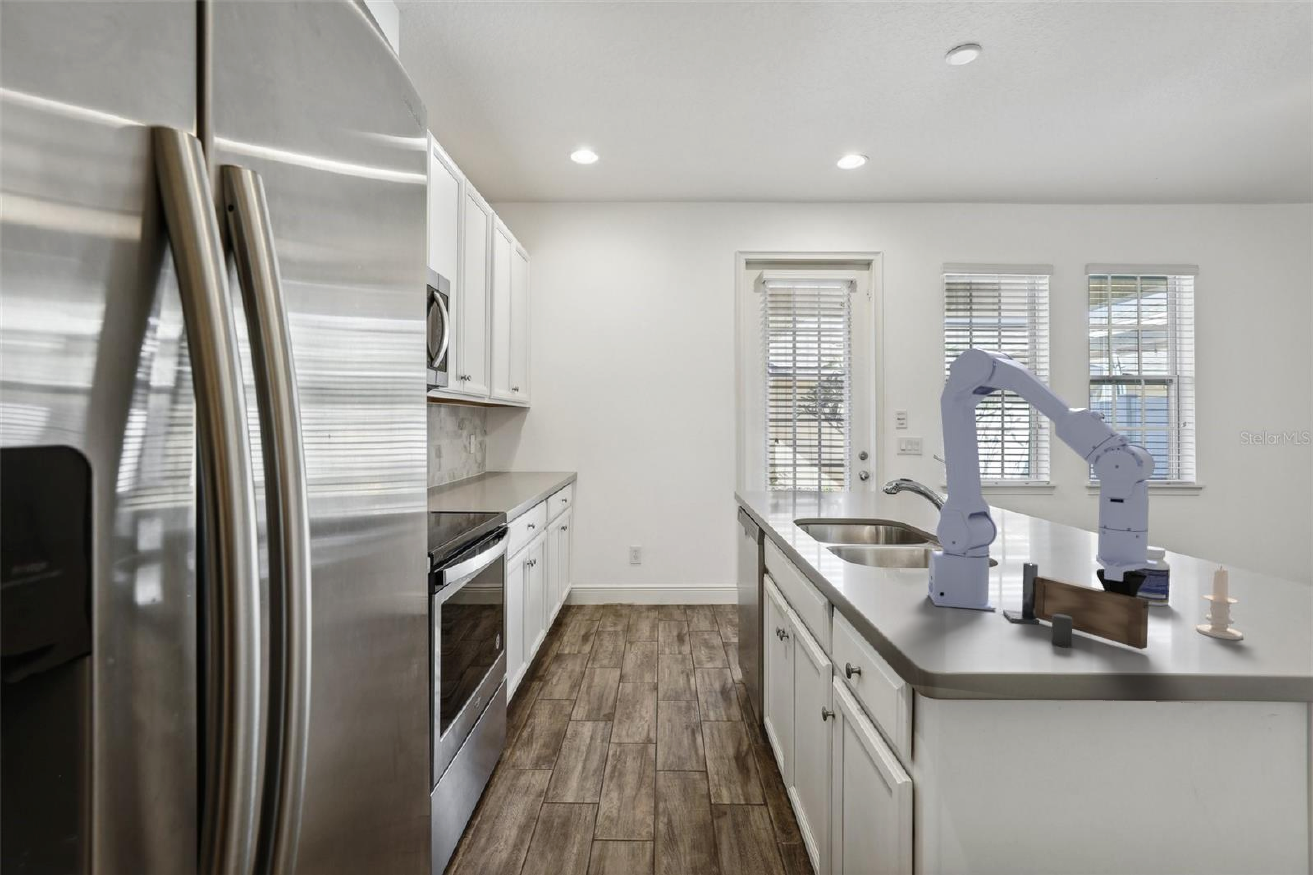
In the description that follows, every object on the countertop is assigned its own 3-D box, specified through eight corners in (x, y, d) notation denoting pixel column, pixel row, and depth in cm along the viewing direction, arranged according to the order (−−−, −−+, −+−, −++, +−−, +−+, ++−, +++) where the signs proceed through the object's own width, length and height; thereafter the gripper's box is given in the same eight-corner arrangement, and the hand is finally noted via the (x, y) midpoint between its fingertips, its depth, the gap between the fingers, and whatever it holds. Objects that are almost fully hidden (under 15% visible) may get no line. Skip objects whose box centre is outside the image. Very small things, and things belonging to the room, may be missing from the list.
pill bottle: (1176, 607, 106) (1178, 551, 105) (1140, 605, 107) (1142, 550, 106) (1157, 598, 111) (1159, 545, 111) (1123, 596, 112) (1125, 543, 112)
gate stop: (1055, 646, 87) (1056, 618, 87) (1049, 640, 89) (1049, 613, 89) (1074, 648, 86) (1075, 620, 86) (1067, 642, 89) (1068, 614, 89)
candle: (1188, 630, 94) (1191, 563, 94) (1207, 626, 96) (1209, 560, 96) (1231, 642, 90) (1234, 571, 89) (1250, 637, 92) (1252, 568, 91)
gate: (1034, 617, 97) (1035, 576, 97) (1040, 616, 98) (1042, 575, 98) (1140, 649, 84) (1142, 601, 84) (1147, 647, 85) (1148, 600, 85)
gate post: (1011, 622, 97) (1012, 566, 97) (1003, 613, 102) (1004, 559, 101) (1040, 624, 96) (1042, 567, 96) (1031, 615, 101) (1033, 561, 100)
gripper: (1151, 538, 81) (1148, 640, 81) (1164, 525, 91) (1161, 615, 92) (1087, 531, 86) (1085, 627, 86) (1106, 520, 96) (1104, 605, 97)
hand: (1120, 620), depth 89 cm, fingers closed
